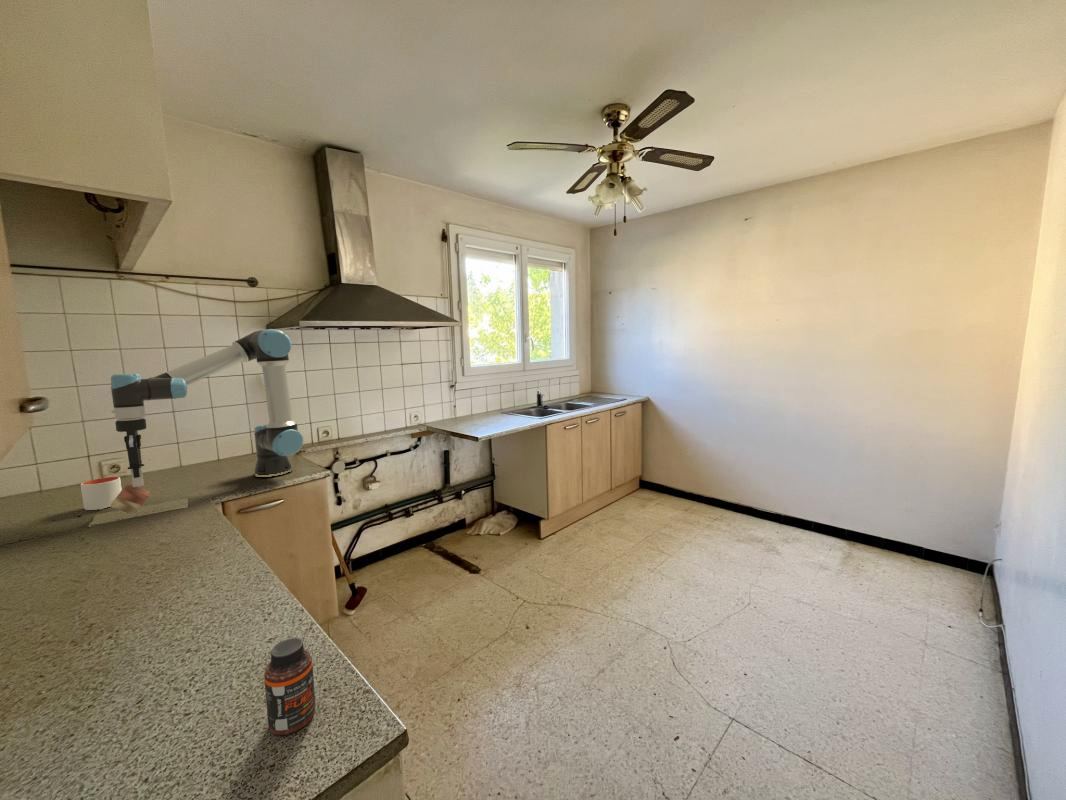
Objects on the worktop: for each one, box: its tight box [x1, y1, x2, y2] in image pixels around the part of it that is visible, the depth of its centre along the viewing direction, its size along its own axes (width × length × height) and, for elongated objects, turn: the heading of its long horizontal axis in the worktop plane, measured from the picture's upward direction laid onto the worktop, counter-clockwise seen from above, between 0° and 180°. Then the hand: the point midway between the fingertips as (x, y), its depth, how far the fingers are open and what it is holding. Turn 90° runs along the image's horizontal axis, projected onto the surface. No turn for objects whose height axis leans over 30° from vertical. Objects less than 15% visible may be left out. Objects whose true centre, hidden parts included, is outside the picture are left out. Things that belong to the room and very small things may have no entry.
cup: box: [80, 476, 123, 511], centre depth 152 cm, size 10×10×10 cm
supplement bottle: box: [263, 637, 316, 736], centre depth 60 cm, size 6×6×11 cm
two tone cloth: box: [109, 482, 151, 514], centre depth 144 cm, size 7×7×7 cm
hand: (138, 485), depth 145 cm, fingers closed
